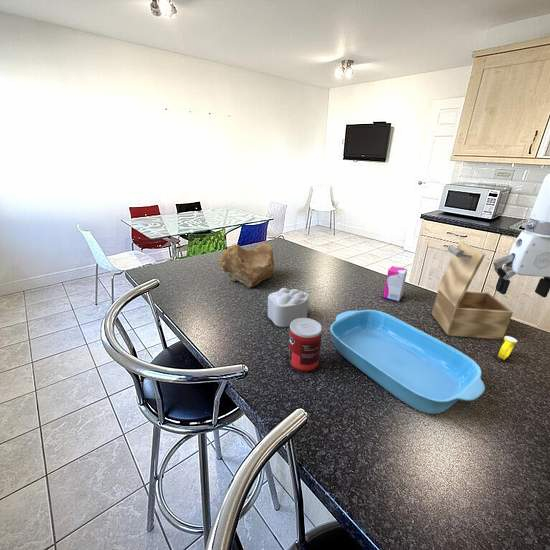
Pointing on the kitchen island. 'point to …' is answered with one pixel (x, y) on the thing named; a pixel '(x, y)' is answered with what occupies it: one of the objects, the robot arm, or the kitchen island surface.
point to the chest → (472, 316)
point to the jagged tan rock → (248, 264)
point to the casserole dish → (407, 360)
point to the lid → (460, 272)
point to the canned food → (304, 344)
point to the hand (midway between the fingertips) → (519, 293)
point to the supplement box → (395, 283)
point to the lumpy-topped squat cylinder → (287, 306)
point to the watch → (507, 347)
